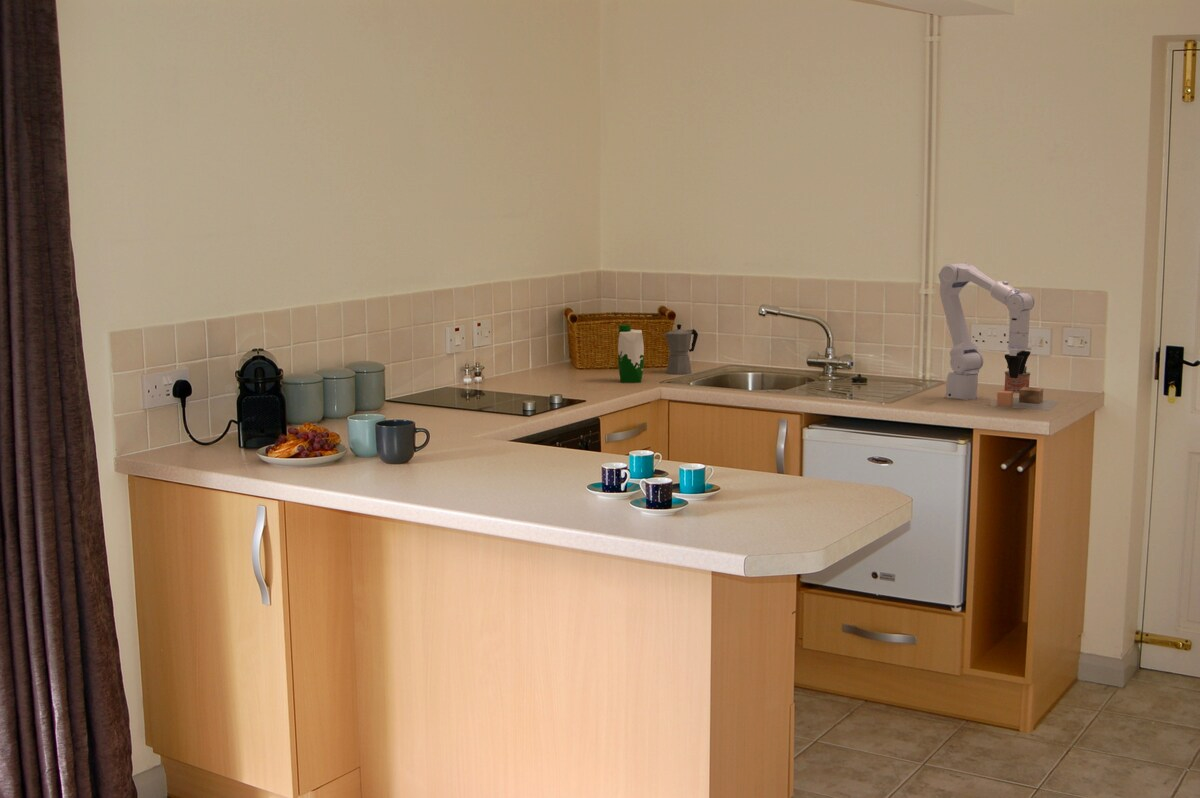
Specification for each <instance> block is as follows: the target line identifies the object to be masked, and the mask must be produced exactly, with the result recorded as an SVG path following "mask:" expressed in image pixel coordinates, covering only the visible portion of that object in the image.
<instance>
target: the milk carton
mask: <svg viewBox="0 0 1200 798" xmlns="http://www.w3.org/2000/svg"><path fill="white" fill-rule="evenodd" d="M644 349H645V346H644V337H643V331H642V329H631V325H630V324H619V325H618V344H617V350H618V352H617V354H618V359H617V363H618V372H619V373H618V374H619V378H620V383H621V384H622V383H623V384H624V383H625V384H626V383H627V384H629V383H631V384H632V383H633V384H634V383H642V379H643V375H644V367H645V365H644V364H645V354H644V353H645V350H644Z"/></svg>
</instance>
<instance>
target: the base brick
mask: <svg viewBox="0 0 1200 798" xmlns="http://www.w3.org/2000/svg"><path fill="white" fill-rule="evenodd" d="M1018 394H1019V395H1018V398H1019V402H1022V403H1034V404H1039V403H1040V402H1042V401H1043V400H1044V388H1042V387H1041V388H1040V387H1030V386H1029V387H1023V388H1021V389H1020V391H1019V392H1018Z"/></svg>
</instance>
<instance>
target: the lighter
mask: <svg viewBox="0 0 1200 798" xmlns="http://www.w3.org/2000/svg"><path fill="white" fill-rule="evenodd" d="M1006 368H1007V369H1008V364H1007V367H1006ZM1027 369H1028V366H1027V365H1025V368H1024V372H1023V374H1022V375H1021V374H1018V377H1017V378H1010V375H1009V370H1006V371H1004V389H1003V391H1013V393H1019V391H1020V389H1021V388H1023V387H1030V376H1031V372H1030V371H1027Z"/></svg>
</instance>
